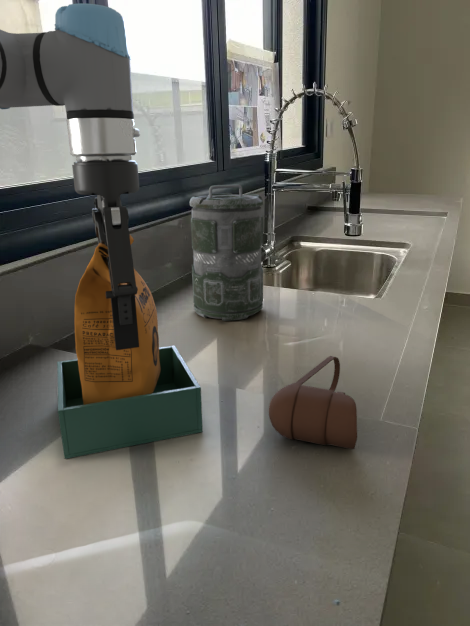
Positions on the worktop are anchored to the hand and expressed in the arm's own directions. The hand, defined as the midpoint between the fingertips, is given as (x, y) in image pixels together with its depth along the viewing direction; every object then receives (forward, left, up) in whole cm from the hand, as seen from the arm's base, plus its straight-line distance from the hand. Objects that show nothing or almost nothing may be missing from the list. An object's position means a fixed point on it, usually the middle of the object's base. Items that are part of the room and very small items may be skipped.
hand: (120, 330), depth 65 cm
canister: (+28, +40, -13) cm, 50 cm away
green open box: (0, 0, -13) cm, 13 cm away
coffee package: (0, 0, -10) cm, 10 cm away
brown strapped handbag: (+25, -10, -13) cm, 30 cm away
